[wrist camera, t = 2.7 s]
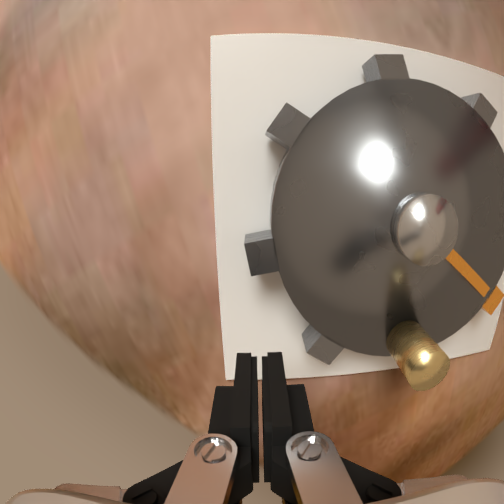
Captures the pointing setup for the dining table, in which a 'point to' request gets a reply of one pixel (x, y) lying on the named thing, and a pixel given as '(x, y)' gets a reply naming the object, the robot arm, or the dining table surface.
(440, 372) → the sprocket
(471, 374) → the dining table surface
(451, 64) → the base plate
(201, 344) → the dining table surface
